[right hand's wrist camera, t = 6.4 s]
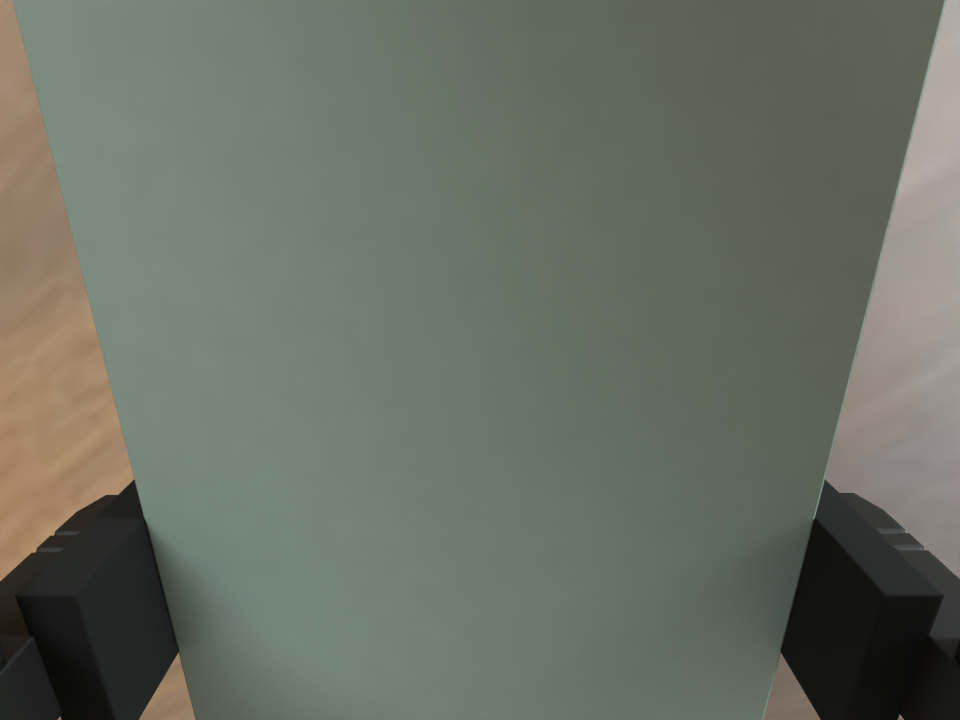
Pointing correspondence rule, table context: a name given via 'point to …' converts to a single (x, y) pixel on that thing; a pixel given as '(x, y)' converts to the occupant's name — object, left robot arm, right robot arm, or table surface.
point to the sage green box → (479, 330)
